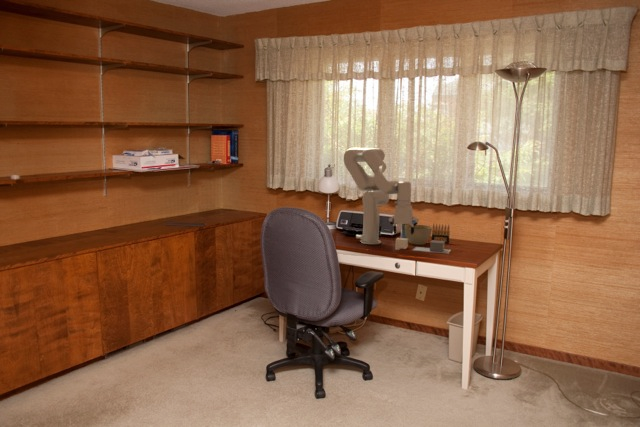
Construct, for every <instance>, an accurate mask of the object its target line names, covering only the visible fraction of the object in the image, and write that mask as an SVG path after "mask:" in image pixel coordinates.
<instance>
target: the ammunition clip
mask: <svg viewBox="0 0 640 427" xmlns="http://www.w3.org/2000/svg"><path fill="white" fill-rule="evenodd" d="M450 232H451V231H450V224H446V223H445V224H443V223H442V224H441V223H433V224H432V230H431V240H430V242H431V241H432V240H436V241H445V245H450Z"/></svg>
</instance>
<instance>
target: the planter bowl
mask: <svg viewBox="0 0 640 427" xmlns="http://www.w3.org/2000/svg"><path fill="white" fill-rule="evenodd" d="M411 227H412V226H411V225H406V226H405V235H406V237H407V238H408V244H411V245H426V243H427V242H428V241H429V240H430V238H431V236H432V228H433V226H430V225H424V224H417V225H416V226H414V233H413V234H411Z"/></svg>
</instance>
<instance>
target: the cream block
mask: <svg viewBox="0 0 640 427" xmlns="http://www.w3.org/2000/svg"><path fill="white" fill-rule="evenodd" d="M394 246H395V247H394V248H395V251H399V250H401V249H404V250H406V249H407V248H408V247H409V241H408V238H401V237H396V239H395V244H394Z"/></svg>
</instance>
